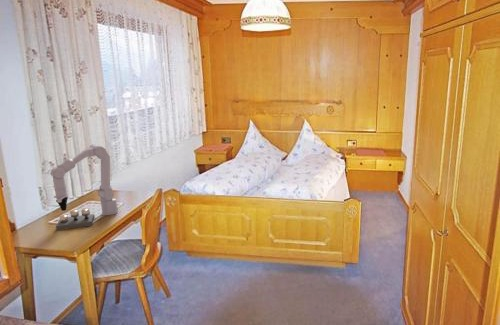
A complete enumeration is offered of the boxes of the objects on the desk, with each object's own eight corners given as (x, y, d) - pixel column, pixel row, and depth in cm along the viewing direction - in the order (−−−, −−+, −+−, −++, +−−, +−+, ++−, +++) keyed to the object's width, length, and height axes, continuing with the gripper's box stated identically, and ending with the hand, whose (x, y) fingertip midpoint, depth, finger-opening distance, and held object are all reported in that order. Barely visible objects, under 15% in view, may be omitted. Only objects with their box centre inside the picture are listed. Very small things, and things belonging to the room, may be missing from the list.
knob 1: (70, 223, 223) (68, 214, 221) (68, 225, 219) (67, 217, 217) (61, 224, 222) (60, 215, 220) (60, 227, 218) (58, 218, 216)
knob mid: (80, 218, 224) (78, 209, 222) (79, 220, 220) (77, 211, 218) (72, 219, 223) (70, 210, 221) (71, 221, 218) (69, 213, 217)
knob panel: (94, 217, 230) (94, 213, 229) (92, 225, 218) (91, 221, 218) (60, 222, 225) (60, 218, 224) (56, 230, 214) (55, 226, 213)
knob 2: (91, 216, 225) (89, 207, 224) (90, 219, 221) (88, 210, 220) (83, 217, 224) (81, 208, 223) (82, 220, 220) (80, 211, 219)
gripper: (55, 185, 220) (59, 206, 224) (49, 192, 207) (53, 215, 210) (68, 183, 222) (72, 205, 226) (63, 191, 209) (67, 214, 212)
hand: (64, 210), depth 218 cm, fingers closed
